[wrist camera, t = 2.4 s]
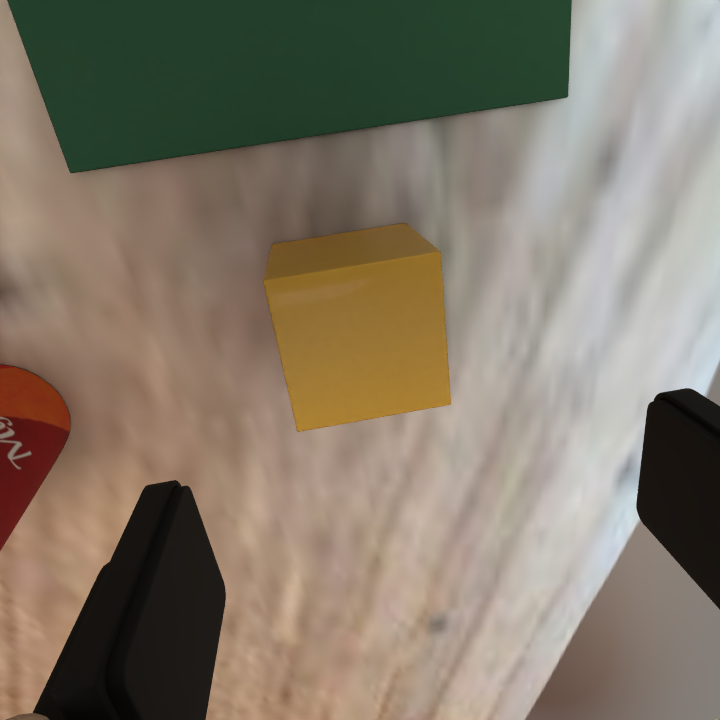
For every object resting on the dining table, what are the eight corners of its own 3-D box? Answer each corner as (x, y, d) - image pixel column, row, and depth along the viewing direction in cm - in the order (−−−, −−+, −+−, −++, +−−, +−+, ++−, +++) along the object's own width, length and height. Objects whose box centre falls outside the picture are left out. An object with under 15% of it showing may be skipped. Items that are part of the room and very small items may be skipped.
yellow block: (297, 366, 24) (297, 432, 19) (271, 244, 22) (262, 280, 16) (417, 345, 25) (451, 404, 19) (405, 222, 22) (441, 251, 17)
